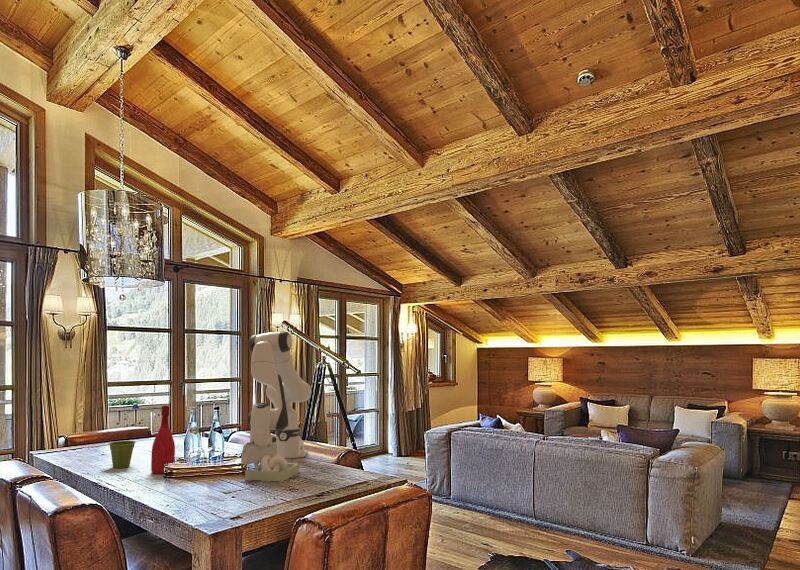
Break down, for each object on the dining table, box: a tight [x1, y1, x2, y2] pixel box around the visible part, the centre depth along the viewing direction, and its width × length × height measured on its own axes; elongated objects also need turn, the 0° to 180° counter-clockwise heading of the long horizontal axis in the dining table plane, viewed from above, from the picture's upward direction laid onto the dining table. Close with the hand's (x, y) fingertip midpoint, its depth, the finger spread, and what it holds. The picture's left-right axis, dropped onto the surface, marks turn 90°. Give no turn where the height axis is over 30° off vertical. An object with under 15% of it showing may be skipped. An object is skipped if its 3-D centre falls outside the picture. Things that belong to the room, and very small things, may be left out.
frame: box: [244, 462, 300, 483], centre depth 265 cm, size 20×17×4 cm
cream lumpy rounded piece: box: [261, 453, 288, 472], centre depth 266 cm, size 11×12×9 cm
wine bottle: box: [150, 404, 176, 475], centre depth 272 cm, size 10×10×30 cm
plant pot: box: [108, 440, 137, 469], centre depth 283 cm, size 12×12×11 cm
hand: (258, 471), depth 266 cm, fingers closed
